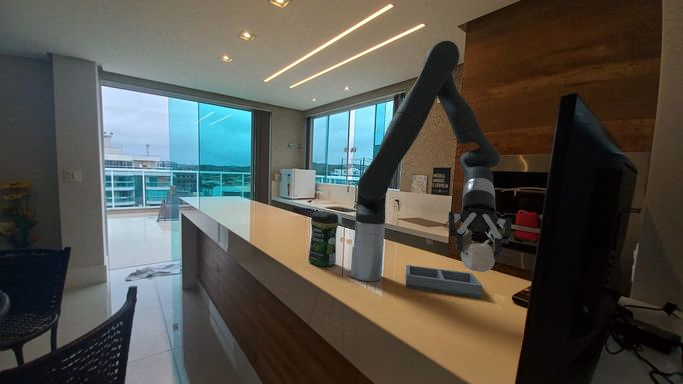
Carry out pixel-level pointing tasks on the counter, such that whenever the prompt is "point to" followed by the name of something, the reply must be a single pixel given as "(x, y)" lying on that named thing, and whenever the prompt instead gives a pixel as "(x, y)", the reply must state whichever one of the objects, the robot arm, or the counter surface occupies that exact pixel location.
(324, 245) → the coffee jar
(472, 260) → the garlic bulb
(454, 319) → the counter surface
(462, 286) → the tray
